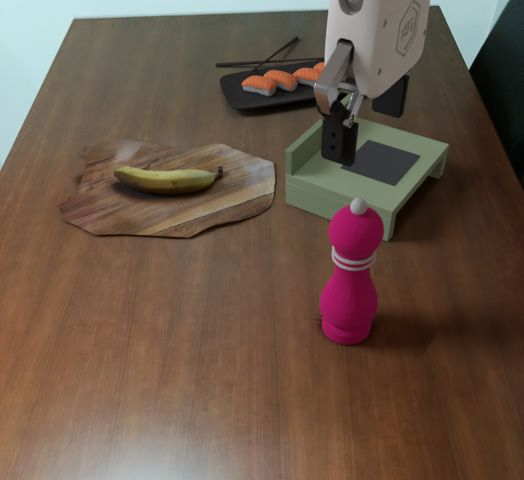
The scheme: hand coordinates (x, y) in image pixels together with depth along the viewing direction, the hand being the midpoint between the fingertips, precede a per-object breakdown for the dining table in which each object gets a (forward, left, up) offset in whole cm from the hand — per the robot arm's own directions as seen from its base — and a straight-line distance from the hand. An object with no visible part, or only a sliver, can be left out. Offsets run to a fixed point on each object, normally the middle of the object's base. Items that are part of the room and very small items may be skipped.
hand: (363, 136), depth 55 cm
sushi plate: (+45, -55, -27) cm, 76 cm away
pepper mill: (0, 0, -27) cm, 27 cm away
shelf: (+12, -28, -27) cm, 41 cm away
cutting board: (+40, -12, -27) cm, 50 cm away
